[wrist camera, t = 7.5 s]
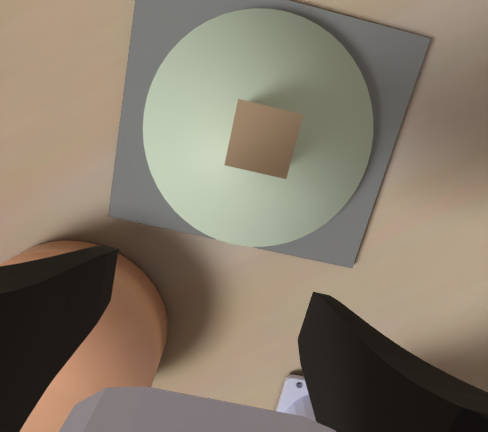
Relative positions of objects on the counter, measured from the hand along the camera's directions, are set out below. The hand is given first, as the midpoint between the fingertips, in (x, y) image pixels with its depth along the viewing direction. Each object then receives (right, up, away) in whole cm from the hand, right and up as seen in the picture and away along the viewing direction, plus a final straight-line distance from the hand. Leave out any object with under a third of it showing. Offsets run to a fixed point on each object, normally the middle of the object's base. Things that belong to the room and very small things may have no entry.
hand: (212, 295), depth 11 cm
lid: (+2, +7, +7) cm, 11 cm away
